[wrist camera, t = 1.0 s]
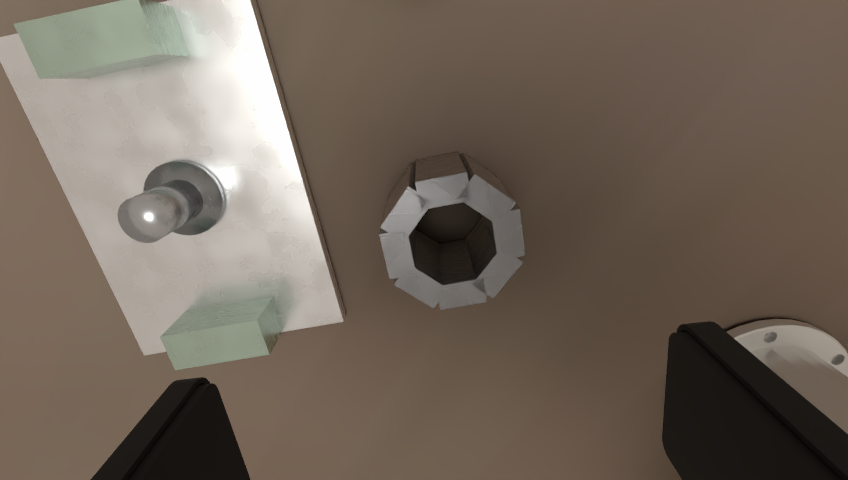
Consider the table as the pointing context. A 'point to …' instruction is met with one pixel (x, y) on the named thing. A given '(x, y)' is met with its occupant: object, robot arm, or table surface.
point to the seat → (180, 171)
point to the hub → (456, 260)
